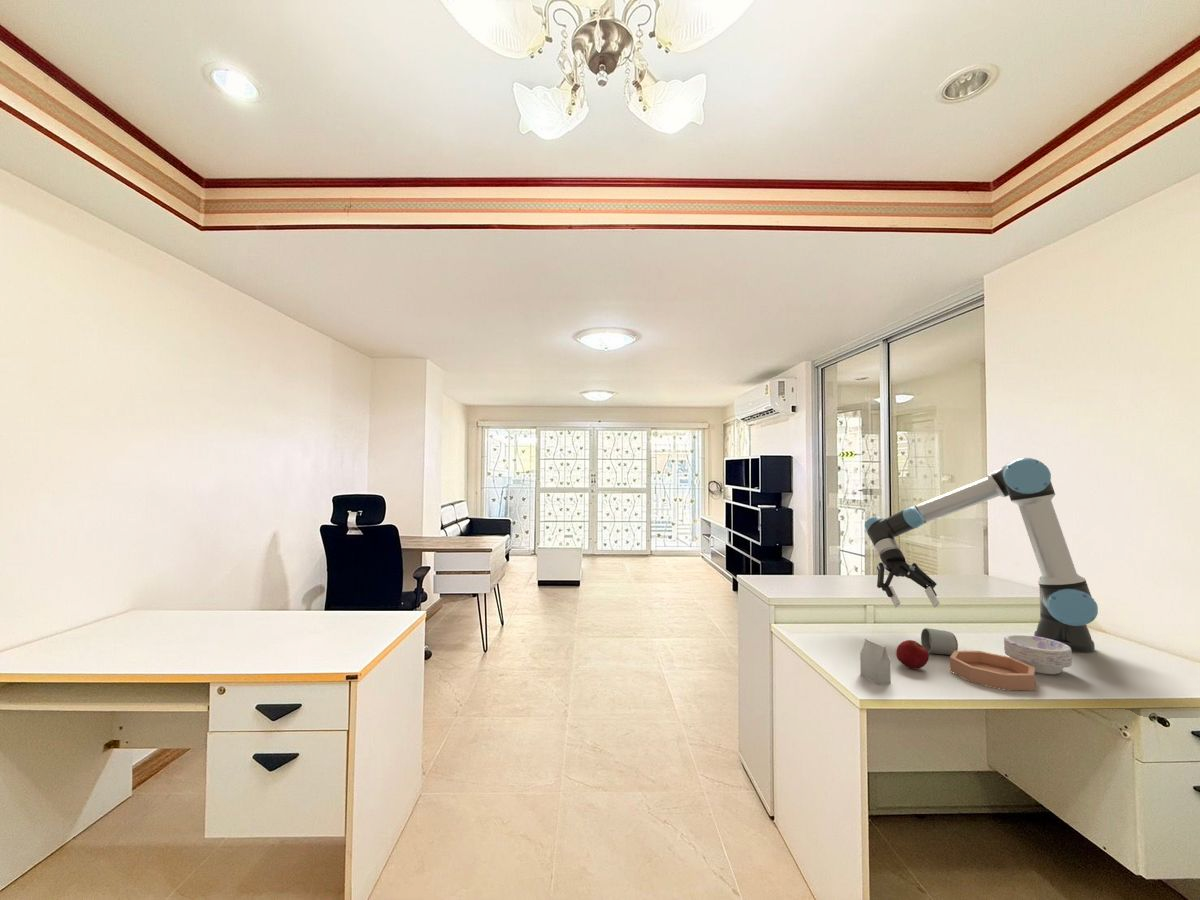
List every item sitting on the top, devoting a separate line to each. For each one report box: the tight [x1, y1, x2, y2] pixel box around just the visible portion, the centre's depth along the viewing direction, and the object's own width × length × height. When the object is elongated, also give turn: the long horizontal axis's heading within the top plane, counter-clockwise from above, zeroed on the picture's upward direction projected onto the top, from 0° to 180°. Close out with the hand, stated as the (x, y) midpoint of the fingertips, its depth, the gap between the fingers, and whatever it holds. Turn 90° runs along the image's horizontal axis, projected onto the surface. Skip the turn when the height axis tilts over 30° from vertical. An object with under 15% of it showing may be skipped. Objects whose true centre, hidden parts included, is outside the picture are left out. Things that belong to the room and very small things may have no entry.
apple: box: [895, 639, 930, 670], centre depth 146 cm, size 8×8×8 cm
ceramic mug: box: [920, 627, 959, 656], centre depth 161 cm, size 11×8×8 cm
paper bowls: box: [1003, 634, 1073, 675], centre depth 148 cm, size 15×15×8 cm
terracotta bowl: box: [949, 650, 1036, 691], centre depth 141 cm, size 18×18×4 cm
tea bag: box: [859, 638, 892, 686], centre depth 138 cm, size 4×7×10 cm, turn 15°
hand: (917, 605), depth 169 cm, fingers open, 13 cm apart
